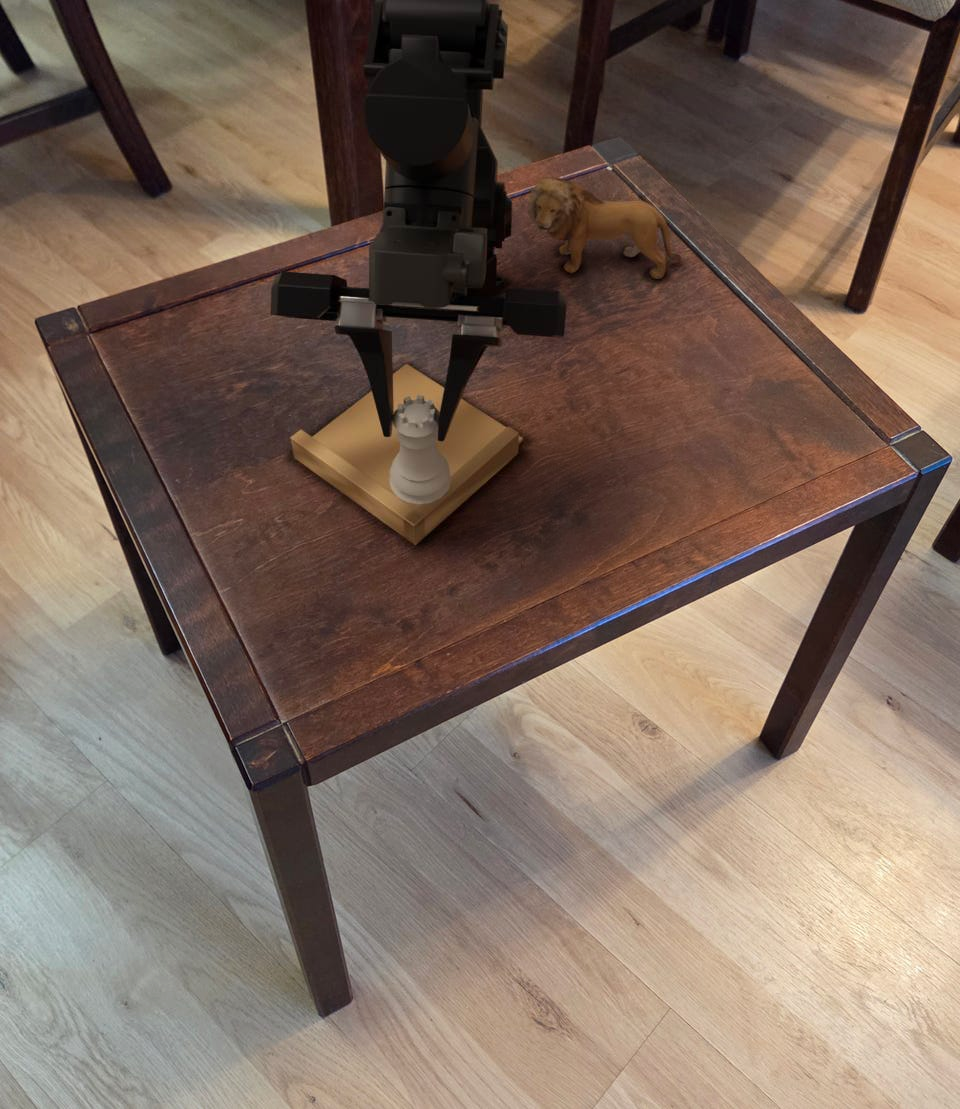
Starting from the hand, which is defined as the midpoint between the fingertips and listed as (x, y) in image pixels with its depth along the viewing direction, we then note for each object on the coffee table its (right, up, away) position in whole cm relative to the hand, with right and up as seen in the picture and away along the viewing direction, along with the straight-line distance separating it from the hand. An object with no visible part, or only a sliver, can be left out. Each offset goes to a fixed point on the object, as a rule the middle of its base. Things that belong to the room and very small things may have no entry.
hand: (414, 438), depth 70 cm
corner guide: (-1, +1, +15) cm, 15 cm away
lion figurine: (+15, +19, +29) cm, 38 cm away
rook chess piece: (0, -3, +6) cm, 7 cm away
